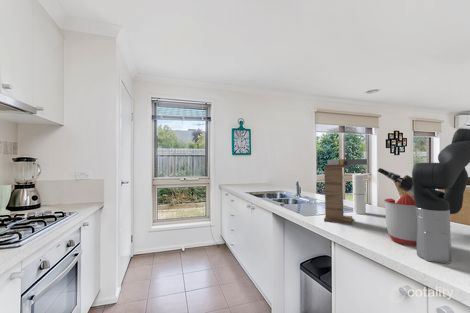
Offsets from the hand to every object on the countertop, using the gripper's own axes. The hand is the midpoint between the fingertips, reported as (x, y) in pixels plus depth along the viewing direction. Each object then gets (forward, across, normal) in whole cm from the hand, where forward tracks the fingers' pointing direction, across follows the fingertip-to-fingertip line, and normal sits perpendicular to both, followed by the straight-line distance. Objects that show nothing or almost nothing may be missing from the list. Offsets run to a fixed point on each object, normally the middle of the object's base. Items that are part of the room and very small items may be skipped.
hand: (379, 169), depth 123 cm
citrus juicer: (-21, +25, +22) cm, 39 cm away
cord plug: (+15, 0, +5) cm, 16 cm away
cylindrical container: (-6, -25, +30) cm, 40 cm away
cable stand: (+3, 0, +36) cm, 36 cm away
